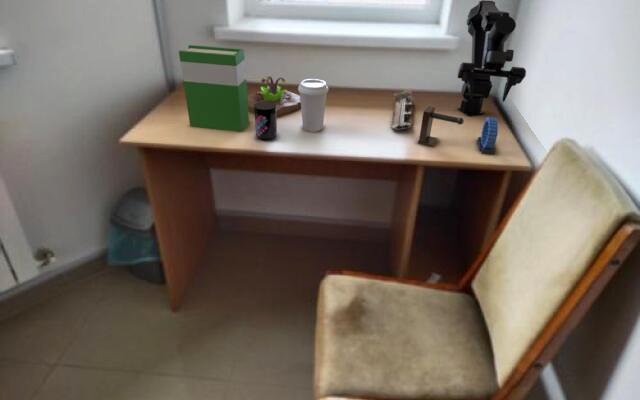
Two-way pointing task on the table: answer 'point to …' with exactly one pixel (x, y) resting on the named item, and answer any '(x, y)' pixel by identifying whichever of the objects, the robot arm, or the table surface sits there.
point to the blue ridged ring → (489, 133)
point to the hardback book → (215, 87)
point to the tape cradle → (485, 151)
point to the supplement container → (265, 120)
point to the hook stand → (427, 124)
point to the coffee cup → (313, 103)
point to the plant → (275, 97)
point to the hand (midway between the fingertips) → (487, 99)
